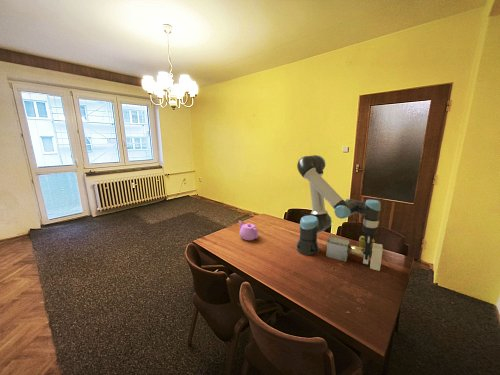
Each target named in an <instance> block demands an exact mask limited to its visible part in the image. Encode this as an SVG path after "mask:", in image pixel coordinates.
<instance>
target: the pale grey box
mask: <svg viewBox="0 0 500 375" xmlns="http://www.w3.org/2000/svg"><path fill="white" fill-rule="evenodd" d="M348 245H350V239H346V238H342V237H338V236H333V235H329V237H328V239H327V241H326V255H325V257H326V258H327V257H328V258H330V259H335V260H338V261H343V262H345V263H346V262H347V260H348V256H349V253H347V250H348Z"/></svg>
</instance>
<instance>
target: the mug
mask: <svg viewBox="0 0 500 375" xmlns="http://www.w3.org/2000/svg"><path fill="white" fill-rule="evenodd" d="M375 241H376V240H375V239H374V238H373V239H372V243H371V244H370V248H371V249H370V250H372V246H373V243H375ZM365 245H366V243H365V235H360V236H359V239H358V247H361V248H365Z"/></svg>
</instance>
